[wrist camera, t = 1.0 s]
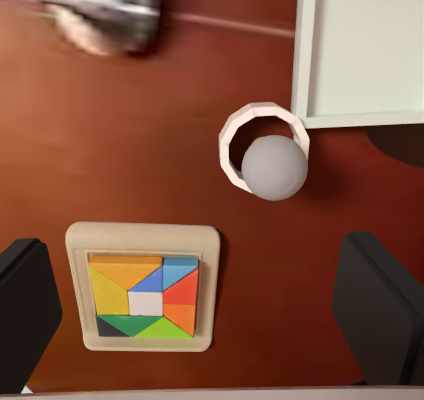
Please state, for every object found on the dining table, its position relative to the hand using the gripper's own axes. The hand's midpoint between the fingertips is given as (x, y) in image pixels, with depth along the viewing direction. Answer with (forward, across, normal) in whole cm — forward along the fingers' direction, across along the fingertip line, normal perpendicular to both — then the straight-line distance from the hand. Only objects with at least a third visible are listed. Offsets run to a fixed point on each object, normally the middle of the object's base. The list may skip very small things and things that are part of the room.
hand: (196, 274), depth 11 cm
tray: (+25, -16, -7) cm, 31 cm away
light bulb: (+26, -6, +2) cm, 26 cm away
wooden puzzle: (+27, +8, +20) cm, 34 cm away
